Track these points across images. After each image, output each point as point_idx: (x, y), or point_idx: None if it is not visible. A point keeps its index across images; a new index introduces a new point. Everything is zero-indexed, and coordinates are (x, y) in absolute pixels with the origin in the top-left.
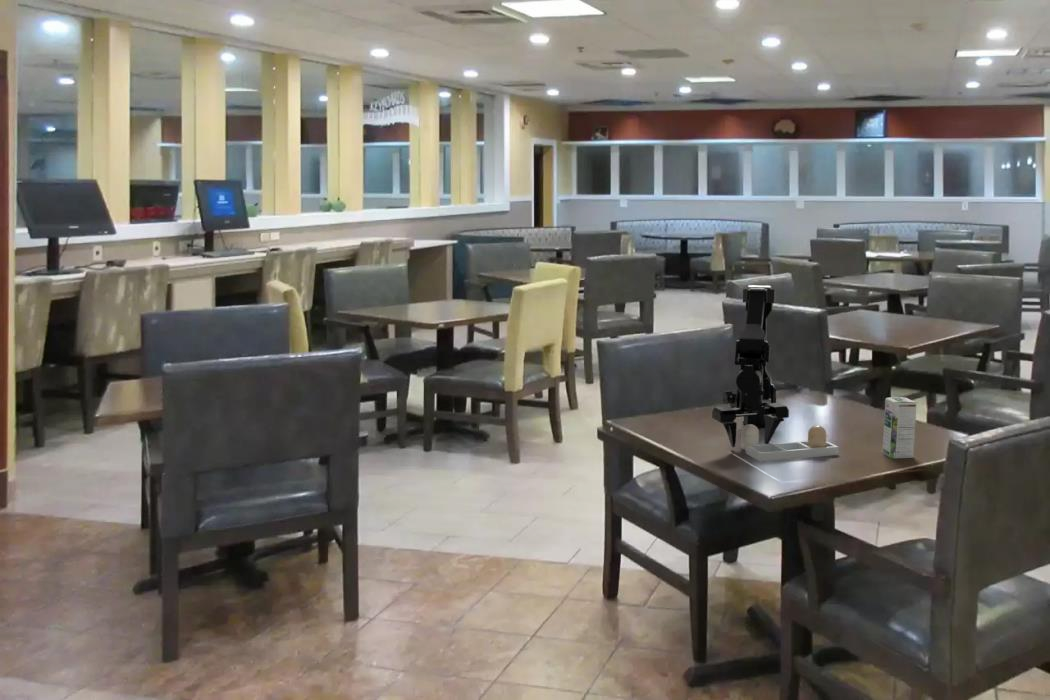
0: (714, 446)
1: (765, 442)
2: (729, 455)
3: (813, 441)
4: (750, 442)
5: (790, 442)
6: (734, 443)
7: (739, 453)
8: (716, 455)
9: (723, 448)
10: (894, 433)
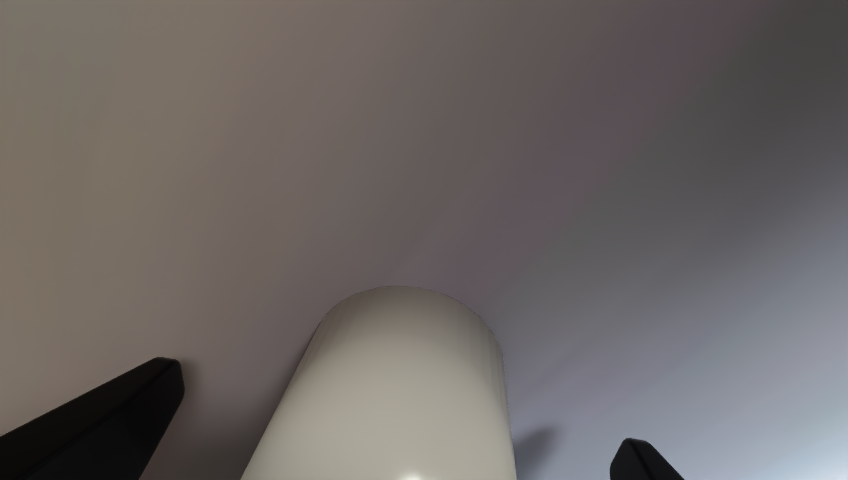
0: (37, 18)
1: (624, 466)
2: None
3: None
4: None
5: None
6: (140, 452)
7: (249, 400)
8: (9, 361)
9: (143, 176)
10: None
